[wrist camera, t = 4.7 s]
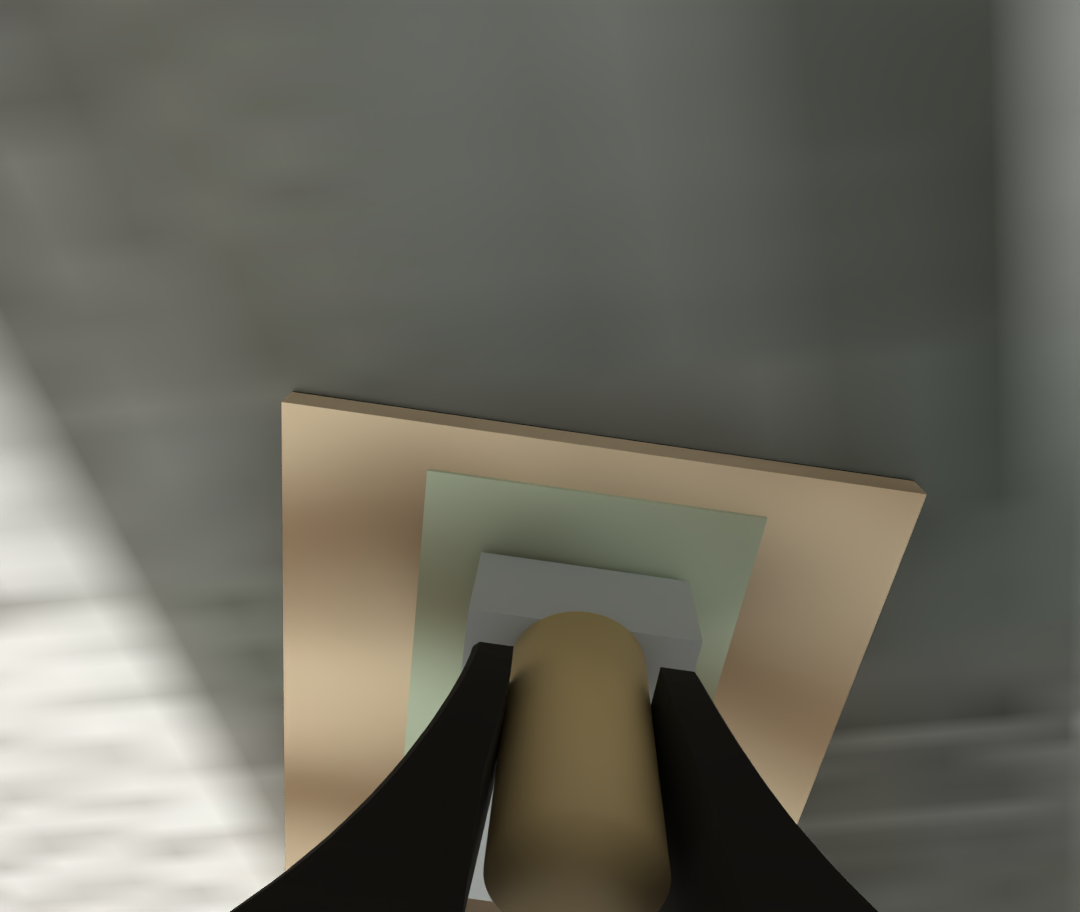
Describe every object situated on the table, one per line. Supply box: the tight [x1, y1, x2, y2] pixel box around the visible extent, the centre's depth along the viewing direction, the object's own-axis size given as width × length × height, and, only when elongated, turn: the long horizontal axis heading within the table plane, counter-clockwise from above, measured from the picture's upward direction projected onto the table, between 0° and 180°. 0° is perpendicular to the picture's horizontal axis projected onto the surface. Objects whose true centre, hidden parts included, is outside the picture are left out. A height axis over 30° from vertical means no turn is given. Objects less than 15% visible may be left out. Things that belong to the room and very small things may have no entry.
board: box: [282, 392, 927, 912], centre depth 20 cm, size 23×13×1 cm, turn 172°
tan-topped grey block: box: [461, 552, 703, 912], centre depth 15 cm, size 8×4×6 cm, turn 172°
